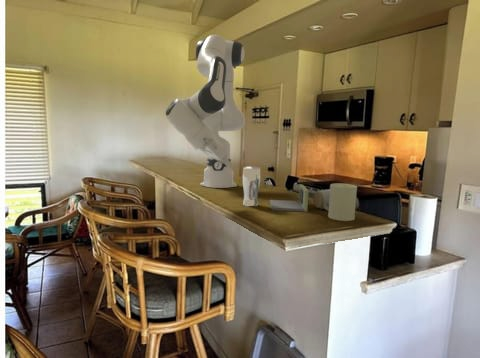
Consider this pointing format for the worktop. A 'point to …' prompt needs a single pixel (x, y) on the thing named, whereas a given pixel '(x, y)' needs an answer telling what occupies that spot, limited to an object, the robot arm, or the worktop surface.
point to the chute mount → (292, 202)
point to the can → (342, 202)
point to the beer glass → (251, 185)
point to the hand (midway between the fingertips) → (226, 164)
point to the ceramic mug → (322, 199)
